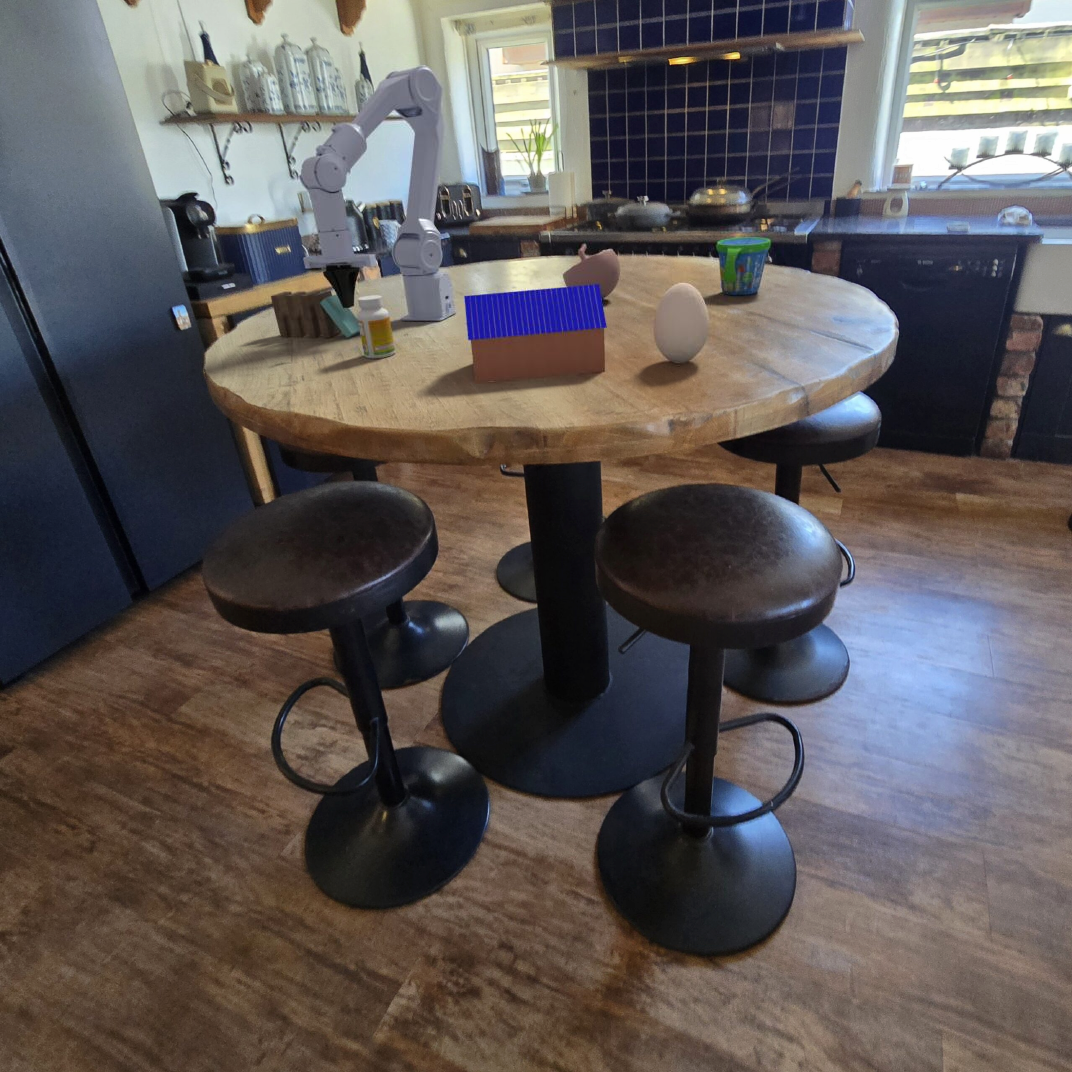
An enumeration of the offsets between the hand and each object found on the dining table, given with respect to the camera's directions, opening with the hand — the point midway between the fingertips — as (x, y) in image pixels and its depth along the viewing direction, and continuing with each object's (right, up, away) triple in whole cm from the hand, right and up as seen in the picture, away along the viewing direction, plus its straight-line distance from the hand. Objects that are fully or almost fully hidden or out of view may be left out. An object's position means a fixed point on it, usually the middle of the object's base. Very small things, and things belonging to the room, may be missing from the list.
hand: (348, 307), depth 133 cm
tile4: (-11, -4, +7) cm, 13 cm away
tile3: (-7, -4, +5) cm, 10 cm away
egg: (+58, -18, -29) cm, 67 cm away
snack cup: (+79, +7, +13) cm, 81 cm away
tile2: (-4, -4, +4) cm, 7 cm away
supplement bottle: (+9, -13, -12) cm, 20 cm away
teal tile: (+1, -4, +2) cm, 5 cm away
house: (+36, -18, -25) cm, 48 cm away
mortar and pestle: (+48, +6, +16) cm, 51 cm away
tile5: (-14, -3, +8) cm, 16 cm away
